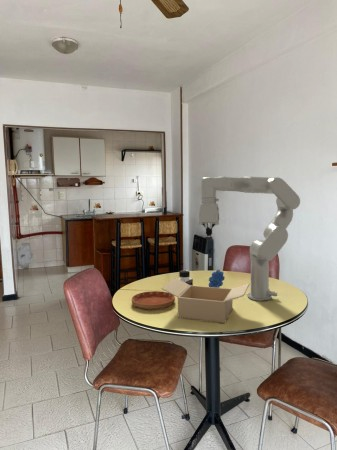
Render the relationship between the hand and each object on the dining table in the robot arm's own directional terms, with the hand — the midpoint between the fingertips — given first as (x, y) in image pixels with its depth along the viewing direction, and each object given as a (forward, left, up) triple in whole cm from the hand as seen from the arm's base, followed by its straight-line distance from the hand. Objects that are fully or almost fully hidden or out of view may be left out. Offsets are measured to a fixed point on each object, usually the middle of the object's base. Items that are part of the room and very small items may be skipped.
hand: (209, 235), depth 183 cm
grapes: (+1, -19, -35) cm, 40 cm away
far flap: (+12, +19, -23) cm, 32 cm away
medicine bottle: (+18, -12, -35) cm, 41 cm away
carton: (-3, +19, -35) cm, 40 cm away
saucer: (+27, +14, -36) cm, 47 cm away
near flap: (-18, +19, -23) cm, 35 cm away
